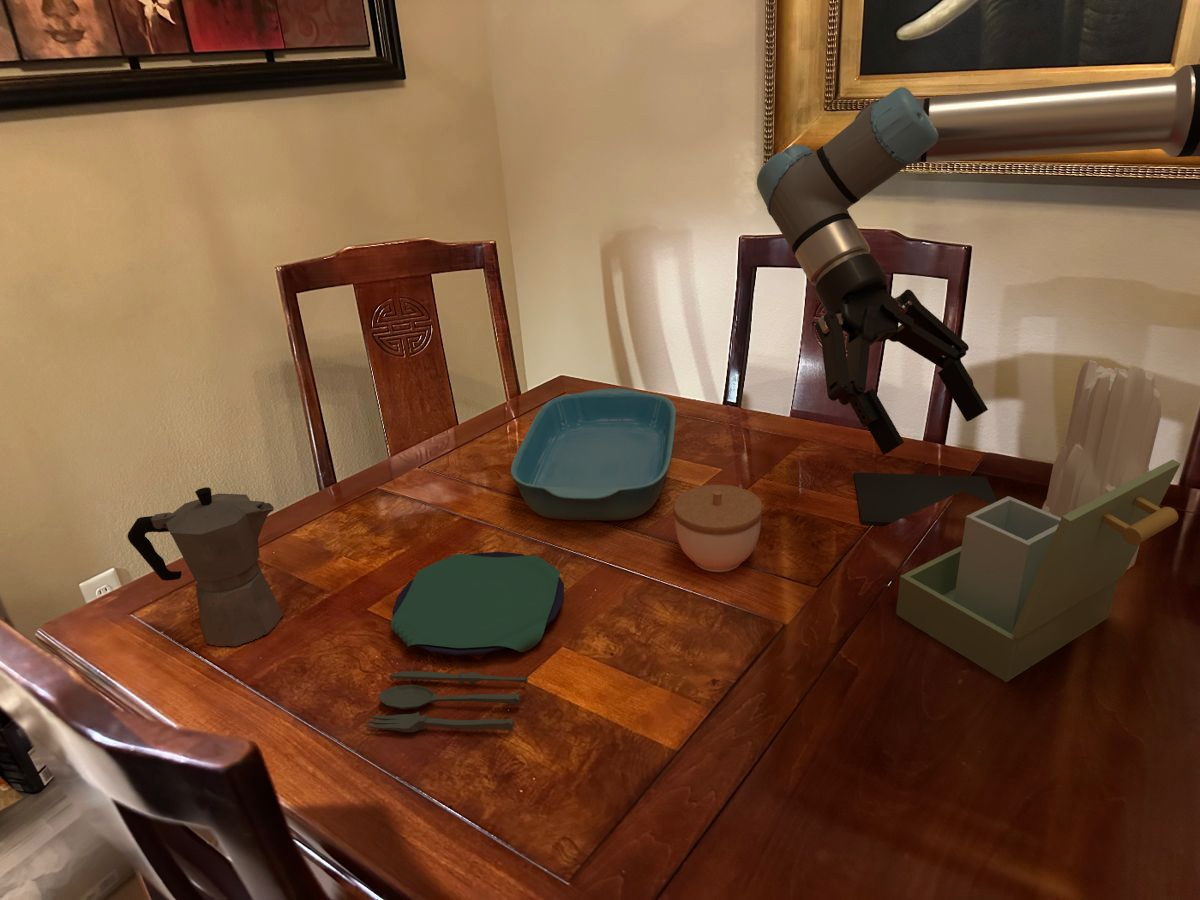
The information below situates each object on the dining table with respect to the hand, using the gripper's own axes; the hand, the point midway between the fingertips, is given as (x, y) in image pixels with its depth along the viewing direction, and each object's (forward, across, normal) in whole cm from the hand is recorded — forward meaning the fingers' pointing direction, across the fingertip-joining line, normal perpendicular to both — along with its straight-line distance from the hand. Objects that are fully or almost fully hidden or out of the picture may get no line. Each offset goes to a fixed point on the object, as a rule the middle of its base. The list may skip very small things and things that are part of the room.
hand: (937, 432), depth 91 cm
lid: (+17, 0, +9) cm, 19 cm away
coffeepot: (-15, +70, -42) cm, 83 cm away
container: (+20, 0, -5) cm, 21 cm away
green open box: (+21, 0, -6) cm, 21 cm away
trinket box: (+1, +16, -26) cm, 30 cm away
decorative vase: (+19, -19, -8) cm, 28 cm away
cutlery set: (-1, +48, -28) cm, 56 cm away
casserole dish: (-19, +16, -46) cm, 52 cm away
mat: (+5, -15, -21) cm, 26 cm away
